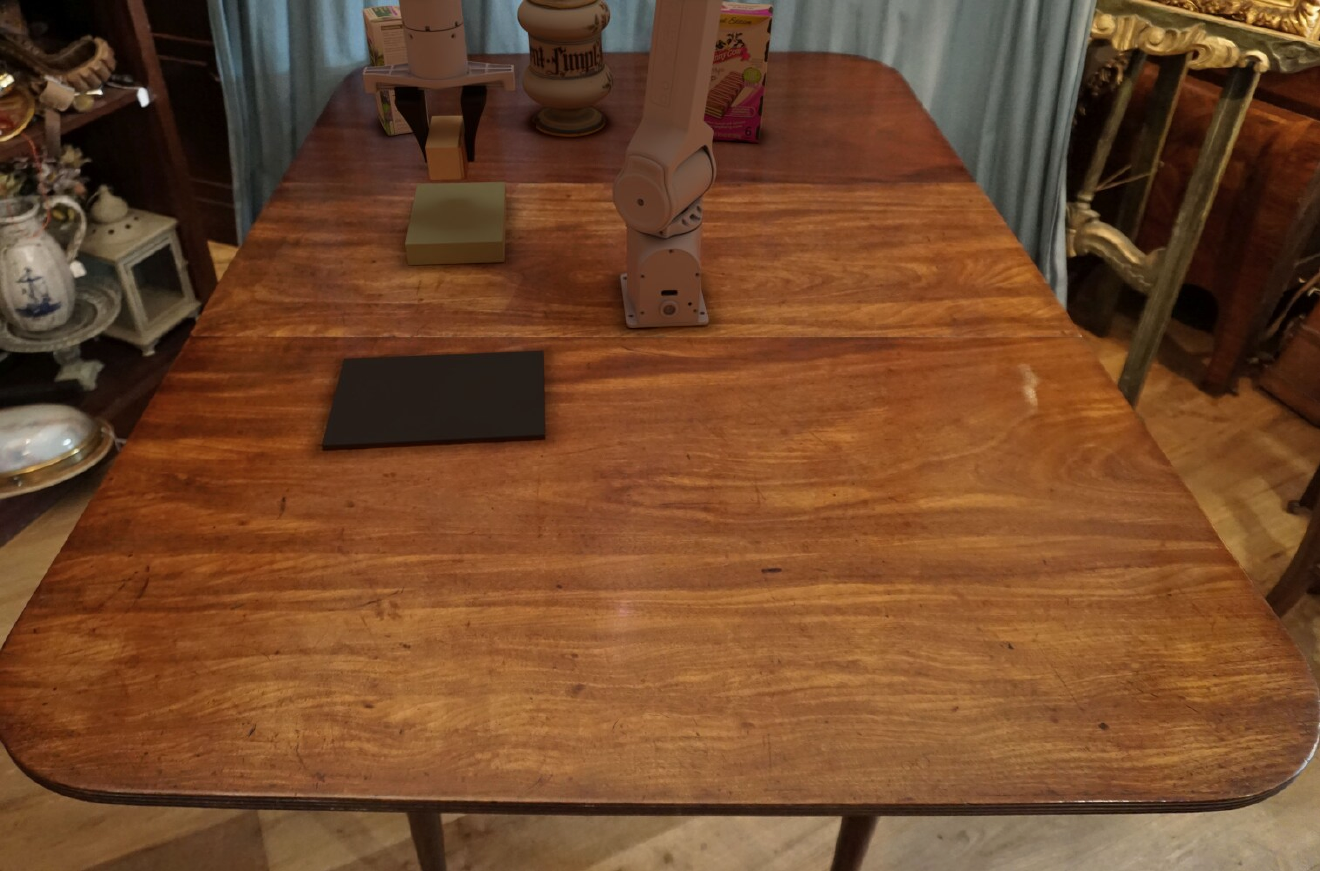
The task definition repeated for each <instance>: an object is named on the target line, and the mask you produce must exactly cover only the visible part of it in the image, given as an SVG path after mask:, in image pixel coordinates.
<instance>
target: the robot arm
mask: <svg viewBox="0 0 1320 871" xmlns="http://www.w3.org/2000/svg"><path fill="white" fill-rule="evenodd" d="M723 1H724V0H655V4H654V5H655V6H654V13H653V14H654V15H653V20H652V21H653V23H652V31H651V41H650V48H649V57H648V66H647V74H646V75H647V76H646V84H645V91H644V92H645V93H644V100H643V108H642V109H643V110H642V118H641V120H640V123H639V125H638V127H637V128H636V131H635V132H634V134H633V136H632V138H631V140H630V142H629V144H628V145H627V147H626V150H625V158H624V164H623V165H622V166H623V167H622V168H621V170H620V172H619V173H618V174H617V175H616V177H615V179H614V181H613V184H612V190H611V191H612V192H611V194H612V200H613V204H614V207H615V209H616V211H617V213H618V215H619V216H620V218H621V219H622V220H623V221H624V222H625V223H624V224H625V227H626V273H622V274H620V276H619V278H620V287H621V294H622V295H621V296H622V301H623V302H622V303H623V309H624V318H625V323H626V324H625V325H626V327H628V328H632V329H634V328H635V329H636V328H658V327H659V328H660V327H661V328H662V327H663V328H664V327H686V326H687V327H688V326H706V325H708V324H709V320H710V318H709V316H708V311H707V307H706V303H705V299H704V296H703V292H702V287H701V286H702V266H701V252H702V250H701V249H702V234H703V215H704V209H703V202H704V194H706V193H708V192H709V191H710V190H711V188H712V187H713V185H714V183H715V181H716V177H717V163H716V159H715V155H714V153H713V152H714V151H713V141H714V140H713V134H714V131H713V129H712V128H711V127H710V126H709V125H707V124H706V123H705V122H704V121H703V120H704V114H705V107H706V101H707V95H708V89H709V83H710V77H711V70H712V64H713V58H714V52H715V46H716V40H717V34H718V27H719V21H720V15H721V9H722V3H723ZM398 6H400V13H401V19H402V26H403V32H404V39H405V45H406V52H407V58H408V63H401V64H394V65H386V66H377V67H371V66H365V67H364V68H363V71H362V79H363V80H362V81H363V85H364V90H365V94H375V93H377V92H378V91H392V90H394V92H395V101H394V103H395V106H396V108H397V110H398V111H399V112H400V114H401V115H402V116H403V118H404V119H405V121H406V122H407V123H408V125H409V127H410V128H411V130H412V132H411V133H412V134H413V135H414V137H415V139H416V141H417V144H418V146H419V148H420V150H421V153H422V156H423V159H424V163H426V164H428V163H427V156H426V150H425V146H426V142H427V137H428V132H429V128H430V124H429V125H428V120H429V118H428V119H427V112H428V109H427V110H426V104H427V100H426V101H425V96H426V91H443V90H444V91H446V90H448V91H449V90H450V91H451V90H461V93H460V100H459V101H460V102H459V103H460V108H461V114H462V115H461V116H463V121H464V127H465V136H466V153H467V160H468V162H469V163H474V162H475V160H476V138H477V133H478V129H479V124H480V121H481V118H482V115H483V112H484V110H485V107H486V104H487V98H488V90H501V89H503V91H505V92H515V91H516V76H515V66H514V64H499V63H488V62H480V61H470V60H468V52H467V43H466V34H465V24H464V15H463V7H462V0H398Z"/></svg>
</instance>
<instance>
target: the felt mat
mask: <svg viewBox="0 0 1320 871" xmlns="http://www.w3.org/2000/svg"><path fill="white" fill-rule="evenodd" d="M545 396H546V394H545V352H544V350H525V351H524V350H523V351H521V350H519V351H499V352H498V351H497V352H496V351H495V352H473V353H472V352H471V353H449V354H447V353H446V354H424V355H423V354H422V355H399V356H397V355H395V356H376V357H375V356H374V357H351V358H343V361H342V365H341V369H340V373H339V377H338V380H337V384H336V388H335V392H334V396H333V399H332V403H331V408H330V412H329V414H328V415H329V416H328V419H327V423H326V427H325V430H324V435H323V438H322V442H321V448H322V450H323V451H324V450H327V451H328V450H345V449H364V448H365V449H366V448H387V447H401V446H402V447H404V446H408V447H409V446H427V445H442V444H443V445H444V444H445V445H447V444H465V443H485V442H505V441H506V442H507V441H525V440H526V441H527V440H529V441H530V440H546V403H545V402H546V401H545V400H546V398H545Z"/></svg>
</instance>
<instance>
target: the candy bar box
mask: <svg viewBox="0 0 1320 871" xmlns="http://www.w3.org/2000/svg"><path fill="white" fill-rule="evenodd" d="M773 16H774V5H773V4H767V3H754V2H753V3H751V2H736V1H724V0H723V3H722V9H721V15H720V21H719V27H718V34H717V40H716V46H715V52H714V58H713V64H712V70H711V77H710V83H709V89H708V95H707V101H706V107H705V114H704V120H703V121H704V122H705V123H706V124H707V125H709V126H710V127H711V128H712V129H713V131H714V134H713V140H712V141H728V142H729V141H730V142H740V143H741V142H742V143H759V141H760V135H761V128H762V119H763V112H764V100H765V92H766V82H767V73H768V64H769V55H770V54H769V53H770V44H771V36H772V29H773V28H772V26H773V18H774V17H773Z"/></svg>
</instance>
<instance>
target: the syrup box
mask: <svg viewBox="0 0 1320 871" xmlns="http://www.w3.org/2000/svg"><path fill="white" fill-rule="evenodd" d="M362 18H363V22H364V28H365V36H366V44H367V49H368V50H367V51H368V57H369V62H370V67H377V66H386V65H394V64H401V63H408V58H407V52H406V45H405V39H404V32H403V26H402V19H401V13H400V6H399V5H394V4H393V5H378V6H372V7H367V8H363V9H362ZM374 94H375V95H374V96H375V101H376V106H377V112H378V118H379V121H380V123H381V125H382V128H383V129H384V131H385V132H386V134H387V135H388V136H397V135H403V134H409V133H413V132H412V130H411V128H410V127H409V125H408V123H407V122H406V121H405V119H404V118H403V116H402V115H401V114H400V112H399V111H398V110H397V108H396V106H395V103H394V101H395V92H394V90H392V91H378V92H377V93H374ZM425 101H426V102H427V96H426V95H425ZM426 110H427V119H428V125H429V126H430V121H429V112H428V105H427V103H426Z"/></svg>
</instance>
